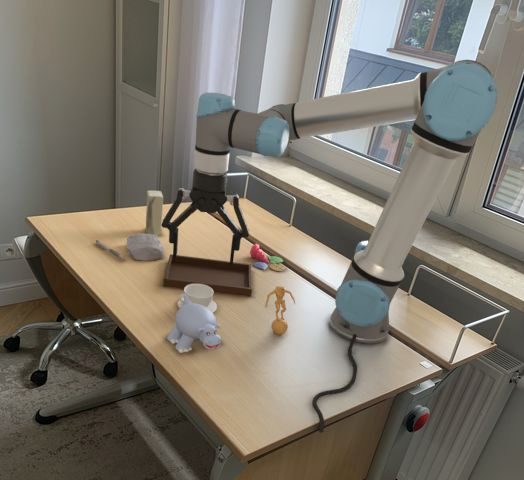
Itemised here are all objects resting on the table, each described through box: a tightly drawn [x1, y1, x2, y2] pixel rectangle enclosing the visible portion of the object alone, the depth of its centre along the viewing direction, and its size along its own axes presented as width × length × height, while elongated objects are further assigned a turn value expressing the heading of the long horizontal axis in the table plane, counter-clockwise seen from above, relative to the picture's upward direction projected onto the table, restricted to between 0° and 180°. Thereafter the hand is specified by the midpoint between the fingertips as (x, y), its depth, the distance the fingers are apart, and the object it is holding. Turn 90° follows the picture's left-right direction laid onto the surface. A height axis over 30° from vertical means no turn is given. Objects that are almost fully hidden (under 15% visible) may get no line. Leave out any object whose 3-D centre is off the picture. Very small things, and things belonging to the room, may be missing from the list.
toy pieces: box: [249, 243, 286, 272], centre depth 166 cm, size 12×11×4 cm
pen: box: [94, 239, 125, 260], centre depth 157 cm, size 1×14×1 cm, turn 47°
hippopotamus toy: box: [166, 292, 222, 354], centre depth 123 cm, size 11×15×10 cm
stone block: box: [126, 232, 164, 262], centre depth 160 cm, size 12×5×10 cm
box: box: [145, 190, 164, 236], centre depth 170 cm, size 5×4×13 cm
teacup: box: [177, 284, 218, 314], centre depth 138 cm, size 10×10×5 cm
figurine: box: [264, 285, 296, 335], centre depth 132 cm, size 8×6×12 cm
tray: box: [162, 253, 253, 298], centre depth 153 cm, size 16×24×2 cm, turn 92°
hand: (203, 259), depth 132 cm, fingers open, 13 cm apart
